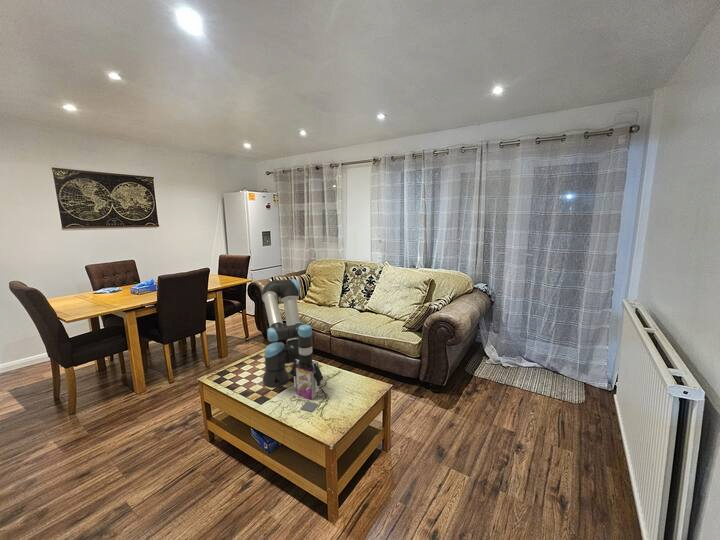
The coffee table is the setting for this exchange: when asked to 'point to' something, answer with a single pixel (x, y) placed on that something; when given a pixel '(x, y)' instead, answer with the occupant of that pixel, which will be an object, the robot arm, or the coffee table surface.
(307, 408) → the slate coaster
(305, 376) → the candy bar box
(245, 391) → the coffee table surface
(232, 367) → the coffee table surface
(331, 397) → the coffee table surface
